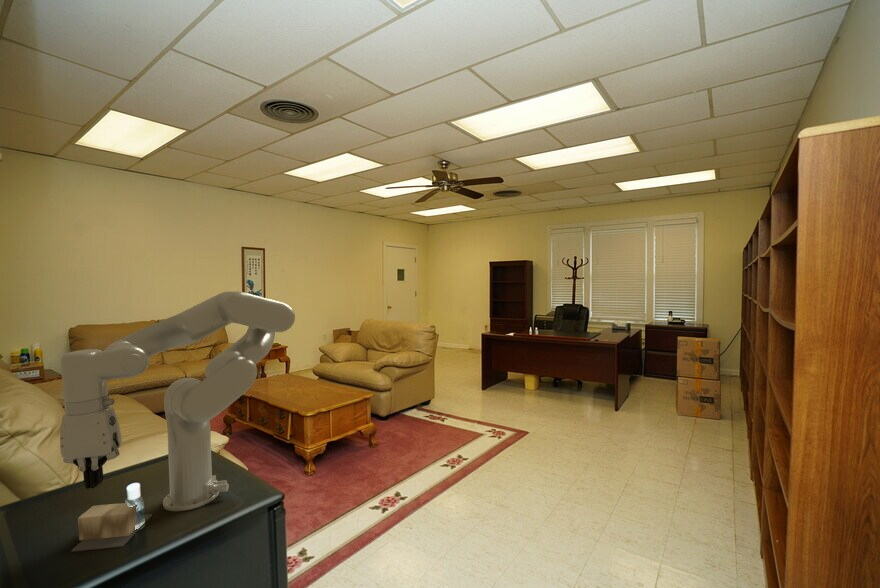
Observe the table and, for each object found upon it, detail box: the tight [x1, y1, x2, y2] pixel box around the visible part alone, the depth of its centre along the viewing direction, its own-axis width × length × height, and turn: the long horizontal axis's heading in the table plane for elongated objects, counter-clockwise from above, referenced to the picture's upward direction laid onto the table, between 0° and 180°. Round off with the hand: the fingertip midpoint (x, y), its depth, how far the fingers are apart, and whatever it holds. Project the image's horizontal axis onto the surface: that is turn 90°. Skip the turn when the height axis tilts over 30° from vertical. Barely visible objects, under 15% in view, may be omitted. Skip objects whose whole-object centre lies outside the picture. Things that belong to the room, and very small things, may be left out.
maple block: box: [77, 502, 137, 541], centre depth 94 cm, size 5×5×10 cm
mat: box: [71, 513, 153, 552], centre depth 95 cm, size 10×12×1 cm
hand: (94, 485), depth 94 cm, fingers closed
